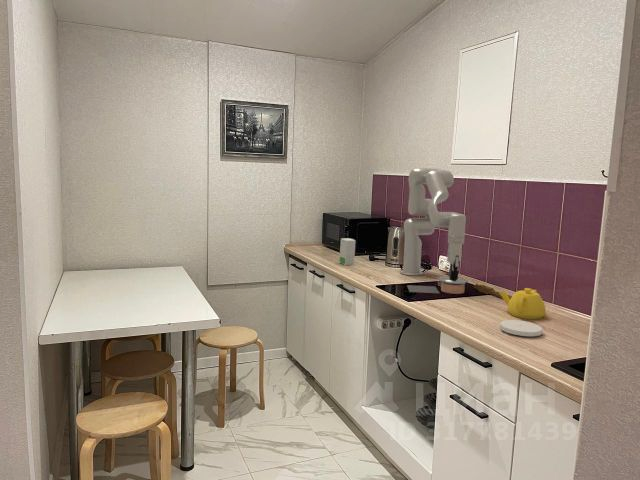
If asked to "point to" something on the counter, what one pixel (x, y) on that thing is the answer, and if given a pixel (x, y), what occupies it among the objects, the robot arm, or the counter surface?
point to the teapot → (525, 304)
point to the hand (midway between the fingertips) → (453, 277)
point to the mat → (422, 289)
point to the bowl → (452, 288)
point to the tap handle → (488, 290)
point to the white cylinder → (347, 251)
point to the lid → (452, 280)
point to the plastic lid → (521, 328)
